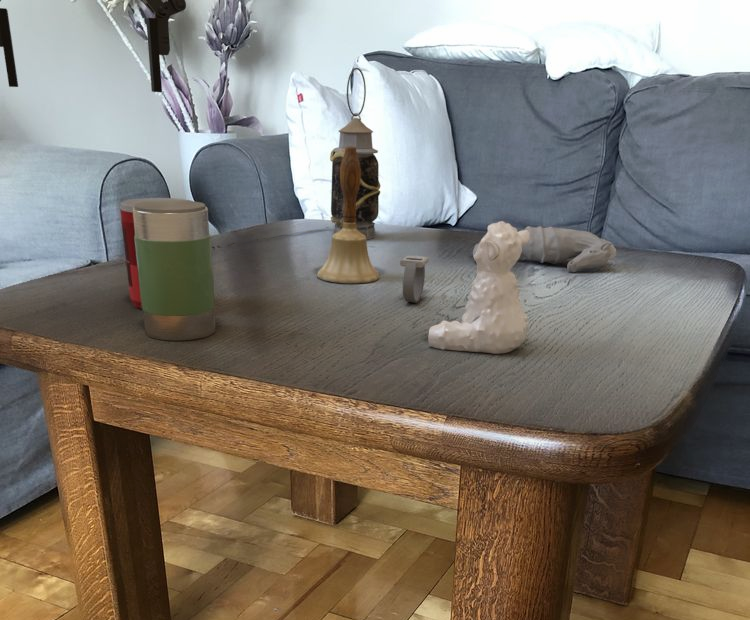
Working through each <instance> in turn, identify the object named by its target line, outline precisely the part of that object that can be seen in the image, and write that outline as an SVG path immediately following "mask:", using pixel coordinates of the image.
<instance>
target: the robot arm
mask: <svg viewBox="0 0 750 620" xmlns="http://www.w3.org/2000/svg"><path fill="white" fill-rule="evenodd" d="M1 1H2V0H0V2H1ZM141 1H142V2H143V4H144V5H145V6H146V8H148V10H149V11H150V12H151V13H152V15H153V17H147V18H146V19H145V23H146V35H147V49H148V61H149V63H148V64H149V74H150V75H149V76H150V87H151V92H153V93H163V85H162V71H161V60H160V59H161V57H160V56H169V55H170V51H171V45H170V44H171V43H170V29H169V28H170V27H169V20H170V18H171V16H174V15H177V14H179V13H181V12H184V11H185V10H186V8H187V3H186V2H187V1H186V0H167V1H163V0H141ZM0 48H3V55H4V61H5V68H6V73H7V74H6V76H7V82H8V87H9V88H11V87H12V88H18V87H19V82H18V75H17V67H16V59H15V52H14V46H13V38H12V32H11V25H10V18H9V10H8V9H7V8H5V7H3V8H2V7H0Z"/></svg>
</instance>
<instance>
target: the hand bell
mask: <svg viewBox="0 0 750 620" xmlns="http://www.w3.org/2000/svg"><path fill="white" fill-rule="evenodd" d="M360 177H361V170H360V163H359V159H358V156H357V151H356V147H352V146H350V147H348V146H347V147H346V148H345V153H344V156H343V159H342V163H341V168H340V183H341V189H342V193H343V197H344V213H343V215H344V217H343V228H342V230H340V231H339V232H337V233H335V234H334V233H333V234H332V236H331V244H330V250H329V253H328V257H327V259H326V261H325V263H324V264H323V266H322V267H321V268H319V270H318V271H317V274H316V276H317V278H318V279H320V280H322V281H325V282H330V283H335V284H348V285H352V284H353V285H354V284H355V285H357V284H367V283H373V282H377V281H378V280H379V279H380V277H381V276H380V273H379V272H378V271H377V270H376V268H375V267H374V266H373V263H372V262H371V260H370V256H369V251H368V244H367V240H366V236H365V235H364V234H362V233H361V232H359V231H358V230H357V229H356V198H357V194H358V190H359V186H360Z"/></svg>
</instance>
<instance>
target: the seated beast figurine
mask: <svg viewBox="0 0 750 620" xmlns="http://www.w3.org/2000/svg"><path fill="white" fill-rule="evenodd" d="M486 227H487V232H486V234H484V235H483V236H482V238H481V239H480V241H479V243H480V244H479V243H478V244H479V246H478V249H477V251H476V253H475V255H474V258H473V260H474V261H475V262H476V263H475V264H476V269H475V272H476V276H475V278H474V280H473V281H472V283H471V288H470V292H469V294H468V300H467V303H466V305H465V312H464V314H462V315H461V322H459V320H452V321H448V320H442V321H440V323H437V324H435V325H431V326H430V328H429V329H428V338H427V341H428V347H430V348H431V347H432V348H434V349H440V350H442V351H443V350H449V351H459V352H471V353H486V354H493V355H494V354H495V355H500V354H507V353H510V352H512V351H514V350H516V349H518V348H520V347H521V345H522V344H523V342H524V341H526V340H527V333H528V329H529V326H530V323H529V321H528V319H529V317H528V316H527V315H526V313H525V311H524V309H523V307H522V304H521V299H520V298H519V295H520V289H519V285H518V283H519V282H518V280H517V279H516V275H515V274H514V272H513V271H511V269H512V268H513V267H514V266H515V265H516V263H517V262H518V261H519V260H520V258H521V255H522V254H521V253H522V246H523V245H526V244H527V243H528V242H529V238H530V234H529V232H528V230H525V229H523V230H522V229H521V230H519V231H518V229H517V228H516V227H515V226H512V225H511V224H510V223H509V222H505V221H503V220H501V221H497V222H494V223H490V224H489V225H488V226H486Z"/></svg>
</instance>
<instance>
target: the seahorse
mask: <svg viewBox="0 0 750 620" xmlns="http://www.w3.org/2000/svg"><path fill="white" fill-rule="evenodd" d="M524 230H528V232H529V234H530V238H529V242H528V243H527V244H526V245H523V246H522V253H521V255H522V256H523V257H524V258H526V260H527V261H537V262H539V263H541V264H544V263H548V264H551V265H557V264H563V263H565V262H566V261H568V260H569V262H568V263H567V264H566V269H567V271H568V272H571V273H575V272H576V271H581V270H586V269H587V270H588V269H593V268H597V267H602V266H603V267H604V266H609V265H610V262H608V261H609V260H610V261H611V260H613V259H615V258H616V257H617V249H616V247H615V246H614V244H613V242H611V241H609V240H607V239H604V238H600V237H598V236H597V235H596V234H594V233H593V232H591V231H586V230H577V229H571V228H567V227H566V228H565V227H564V228H563V227H562V228H561V227H560V228H558V227H553V226H551V225H550V226H547V227H542V226H541V225H539V226H537V227H533V226H529V225H528V226H526V227H525V228H524ZM479 244H480V242H478V243H476V244H475V246H474V247H473V250H472V257H473V259H474V255H475V253H476V251H477V249H478V246H479ZM570 259H572V260H570Z"/></svg>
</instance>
